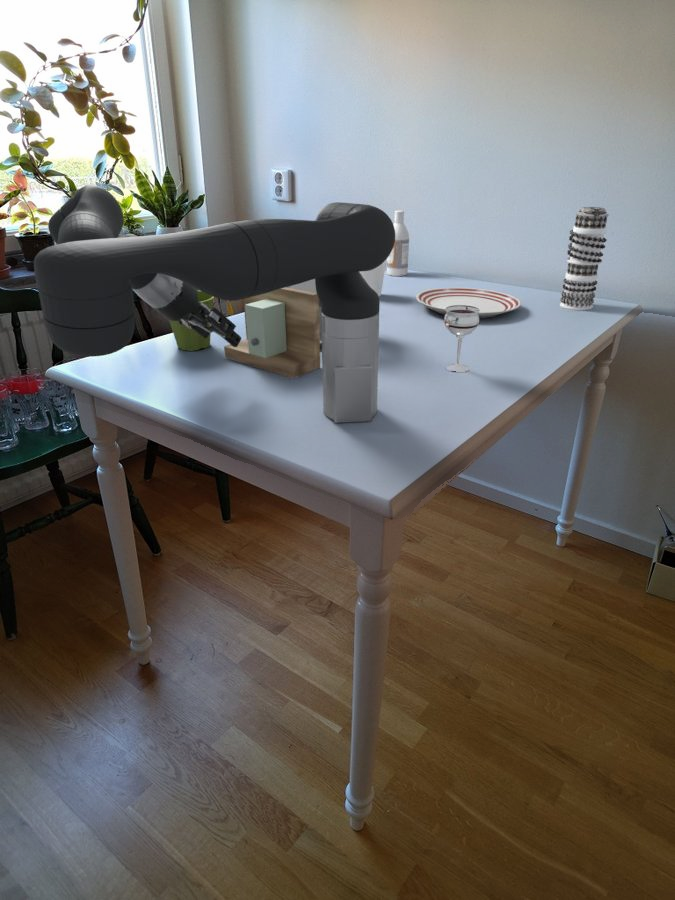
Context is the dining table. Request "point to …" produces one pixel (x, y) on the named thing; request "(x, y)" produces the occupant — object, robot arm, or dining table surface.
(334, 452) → the dining table surface
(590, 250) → the grey white tall cylinder
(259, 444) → the dining table surface
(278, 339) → the cabinet
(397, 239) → the bath foam
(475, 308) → the wineglass
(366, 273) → the cup
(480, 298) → the dinner plate
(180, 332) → the plant pot
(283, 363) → the wooden stand
